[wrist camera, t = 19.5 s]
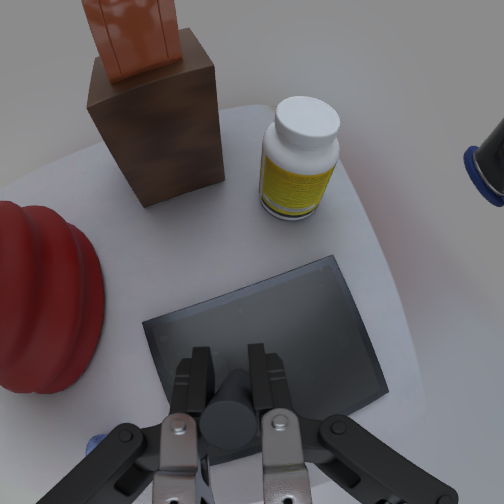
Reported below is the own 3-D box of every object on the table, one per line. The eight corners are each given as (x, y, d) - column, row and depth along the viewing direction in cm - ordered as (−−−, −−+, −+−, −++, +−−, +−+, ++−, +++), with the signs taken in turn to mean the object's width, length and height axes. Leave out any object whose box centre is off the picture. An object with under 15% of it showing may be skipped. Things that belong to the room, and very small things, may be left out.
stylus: (245, 364, 21) (245, 392, 7) (253, 384, 20) (265, 441, 7) (224, 372, 20) (189, 408, 7) (232, 392, 20) (211, 456, 7)
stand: (203, 126, 31) (189, 27, 18) (225, 180, 28) (214, 65, 15) (134, 149, 30) (94, 58, 16) (143, 207, 27) (86, 108, 14)
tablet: (330, 257, 25) (333, 253, 24) (384, 390, 21) (390, 391, 20) (145, 323, 23) (141, 321, 22) (200, 464, 18) (198, 469, 17)
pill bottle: (327, 215, 27) (366, 141, 16) (269, 229, 26) (282, 151, 16) (305, 167, 29) (328, 88, 18) (251, 177, 28) (254, 94, 18)
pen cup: (172, 37, 17) (161, -34, 10) (183, 60, 15) (170, -30, 8) (112, 57, 16) (91, -12, 9) (110, 85, 14) (80, 0, 7)
